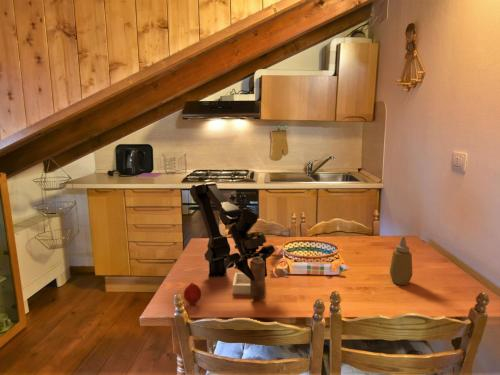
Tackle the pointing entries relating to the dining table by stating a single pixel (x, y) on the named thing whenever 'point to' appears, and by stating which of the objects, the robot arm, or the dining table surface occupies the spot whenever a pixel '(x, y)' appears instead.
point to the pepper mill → (257, 278)
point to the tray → (241, 284)
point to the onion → (192, 294)
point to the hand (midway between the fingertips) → (260, 278)
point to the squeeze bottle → (401, 264)
